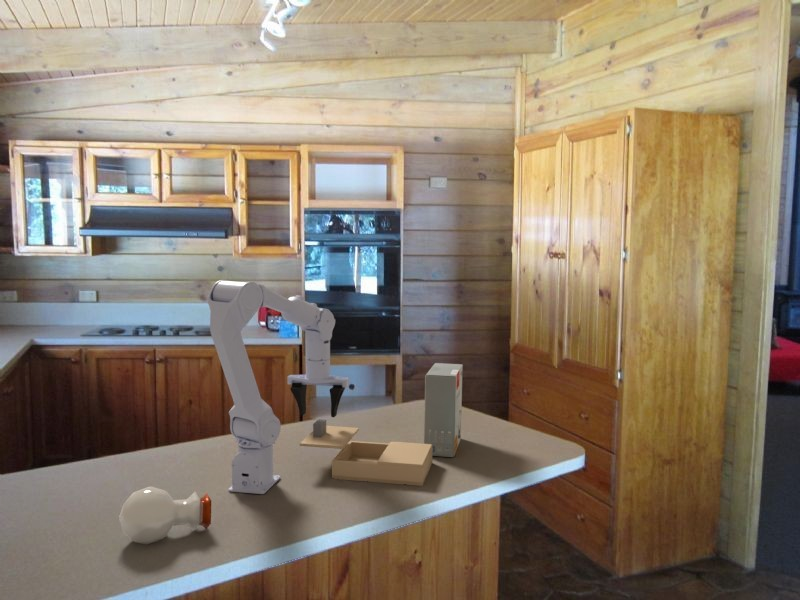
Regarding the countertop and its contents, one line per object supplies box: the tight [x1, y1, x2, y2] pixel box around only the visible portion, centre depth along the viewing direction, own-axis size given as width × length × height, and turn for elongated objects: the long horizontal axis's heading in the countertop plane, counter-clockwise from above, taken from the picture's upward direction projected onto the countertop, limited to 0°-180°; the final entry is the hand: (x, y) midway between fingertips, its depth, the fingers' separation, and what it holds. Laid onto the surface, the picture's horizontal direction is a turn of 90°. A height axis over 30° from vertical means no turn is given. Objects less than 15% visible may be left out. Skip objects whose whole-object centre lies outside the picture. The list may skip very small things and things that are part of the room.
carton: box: [331, 440, 433, 487], centre depth 149 cm, size 14×20×5 cm
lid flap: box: [299, 418, 360, 450], centre depth 150 cm, size 14×10×4 cm
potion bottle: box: [118, 485, 212, 545], centre depth 116 cm, size 9×10×15 cm
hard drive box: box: [423, 362, 464, 458], centre depth 164 cm, size 16×8×20 cm, turn 168°
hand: (318, 415), depth 156 cm, fingers open, 7 cm apart
